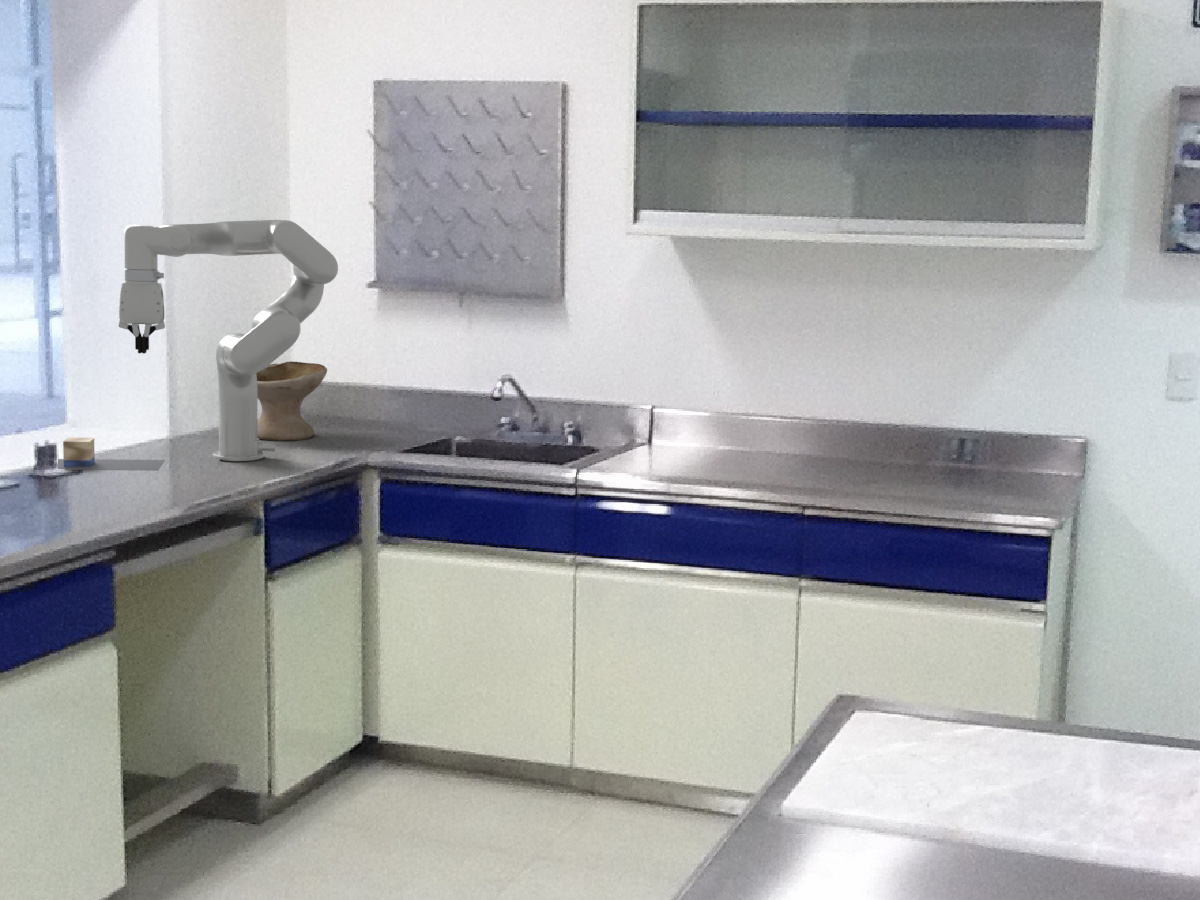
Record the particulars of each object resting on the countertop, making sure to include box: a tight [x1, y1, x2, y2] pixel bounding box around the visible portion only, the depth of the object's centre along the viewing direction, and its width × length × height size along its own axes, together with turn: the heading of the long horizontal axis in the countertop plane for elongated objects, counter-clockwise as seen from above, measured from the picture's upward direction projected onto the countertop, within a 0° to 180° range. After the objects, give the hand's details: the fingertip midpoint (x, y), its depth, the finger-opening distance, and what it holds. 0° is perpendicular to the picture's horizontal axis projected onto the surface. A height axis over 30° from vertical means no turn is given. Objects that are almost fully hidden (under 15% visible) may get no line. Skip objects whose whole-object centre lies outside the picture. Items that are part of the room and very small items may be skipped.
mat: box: [57, 458, 166, 471], centre depth 334 cm, size 26×14×1 cm, turn 100°
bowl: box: [256, 361, 328, 442], centre depth 388 cm, size 26×25×20 cm
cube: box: [62, 437, 96, 467], centre depth 332 cm, size 6×6×6 cm
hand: (142, 352), depth 337 cm, fingers closed
